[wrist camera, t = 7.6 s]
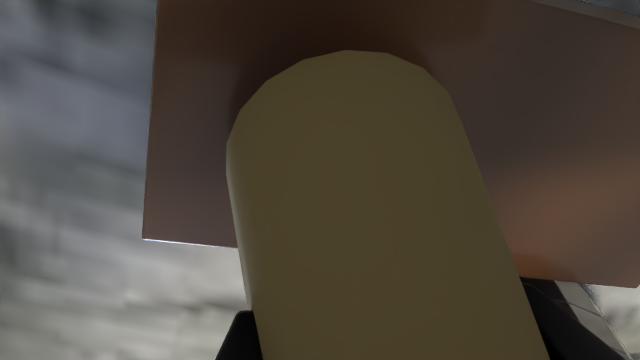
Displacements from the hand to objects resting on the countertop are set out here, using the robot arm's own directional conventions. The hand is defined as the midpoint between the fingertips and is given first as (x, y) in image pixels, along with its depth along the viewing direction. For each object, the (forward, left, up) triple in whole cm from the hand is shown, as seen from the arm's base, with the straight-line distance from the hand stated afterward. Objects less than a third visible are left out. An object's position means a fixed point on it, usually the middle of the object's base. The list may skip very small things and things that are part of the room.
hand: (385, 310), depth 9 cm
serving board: (+4, 0, -7) cm, 8 cm away
